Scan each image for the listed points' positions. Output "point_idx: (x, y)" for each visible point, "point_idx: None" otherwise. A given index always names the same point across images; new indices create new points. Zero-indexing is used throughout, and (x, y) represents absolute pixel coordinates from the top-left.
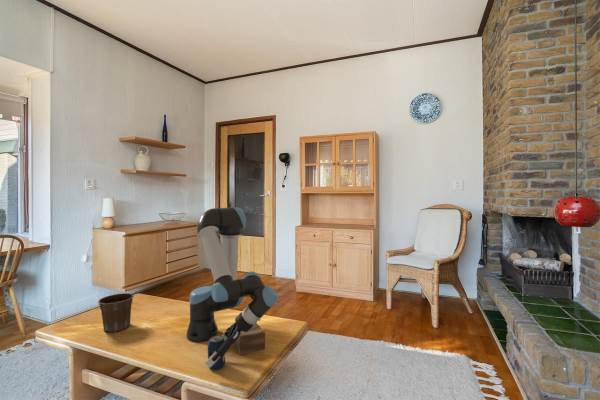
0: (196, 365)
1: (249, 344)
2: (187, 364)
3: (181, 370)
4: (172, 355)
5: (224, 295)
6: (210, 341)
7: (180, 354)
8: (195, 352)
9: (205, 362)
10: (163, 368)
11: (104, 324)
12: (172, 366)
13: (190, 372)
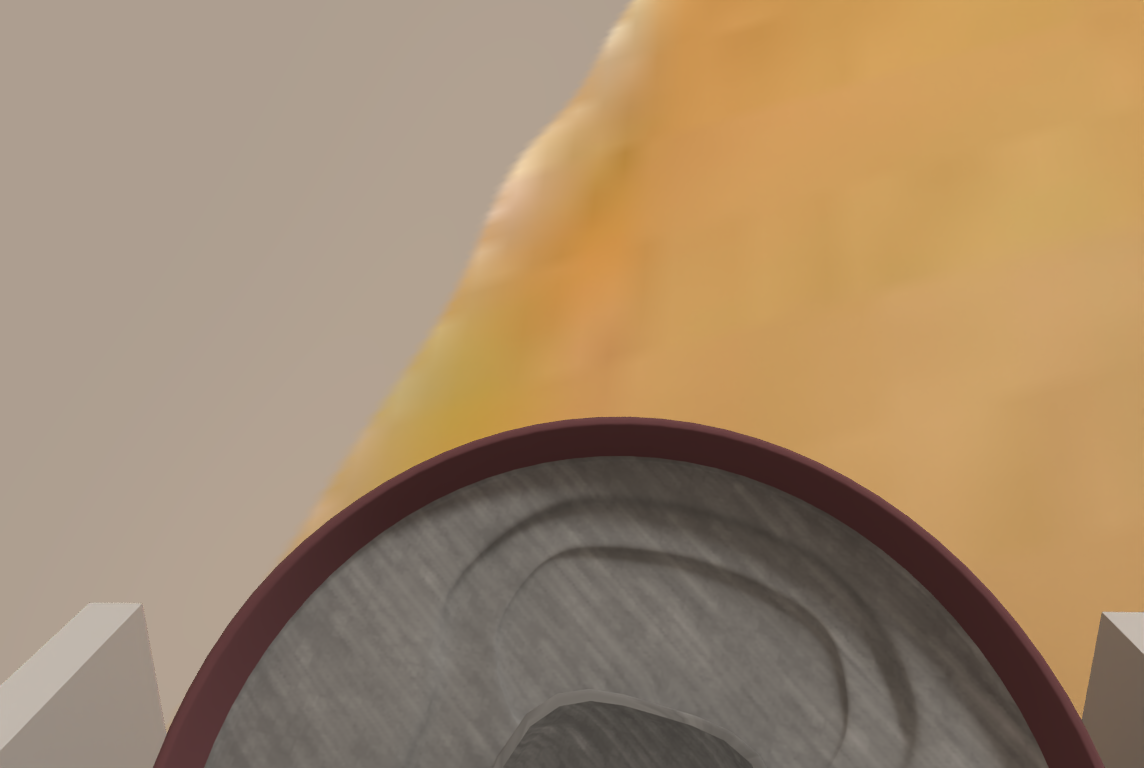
0: (686, 412)
1: None
2: (721, 264)
3: (552, 230)
4: (967, 9)
5: None
6: (297, 555)
7: (1012, 91)
8: (1123, 282)
9: (77, 618)
10: (626, 14)
11: None
12: (670, 93)
13: (476, 373)
